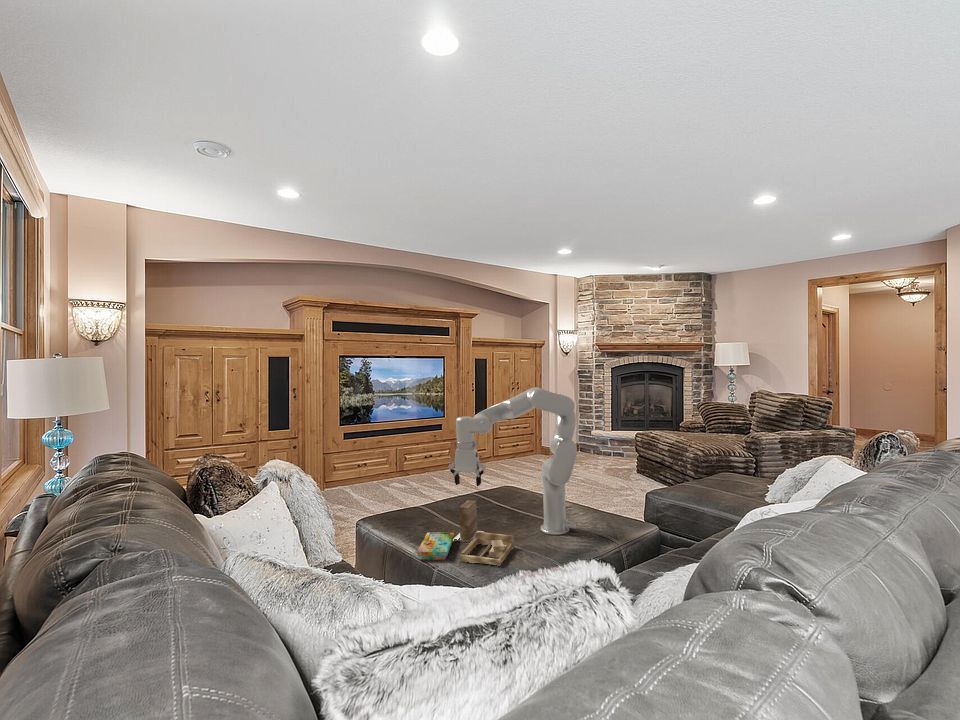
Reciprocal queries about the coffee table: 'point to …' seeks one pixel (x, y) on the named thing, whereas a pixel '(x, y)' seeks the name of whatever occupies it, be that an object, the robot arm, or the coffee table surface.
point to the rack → (486, 539)
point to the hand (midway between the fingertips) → (468, 484)
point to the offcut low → (496, 554)
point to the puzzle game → (435, 546)
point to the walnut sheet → (468, 520)
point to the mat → (459, 536)
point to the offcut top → (497, 545)
